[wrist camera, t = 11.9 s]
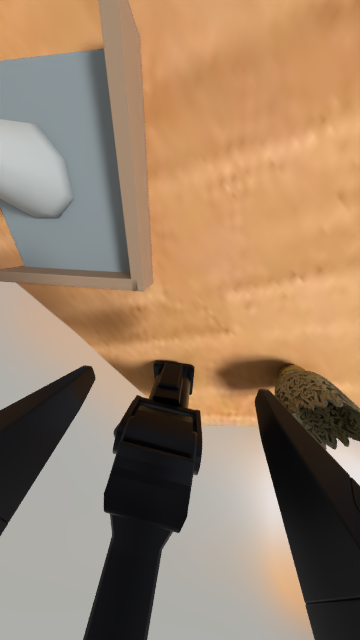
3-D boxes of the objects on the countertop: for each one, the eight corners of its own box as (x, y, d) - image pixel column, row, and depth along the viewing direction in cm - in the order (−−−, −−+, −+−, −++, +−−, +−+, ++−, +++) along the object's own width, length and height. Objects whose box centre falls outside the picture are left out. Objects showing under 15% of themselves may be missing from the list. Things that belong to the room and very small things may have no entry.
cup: (255, 360, 23) (278, 415, 16) (314, 344, 20) (372, 401, 13) (269, 393, 25) (294, 453, 18) (322, 383, 23) (375, 447, 16)
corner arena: (153, 283, 19) (143, 291, 16) (27, 275, 22) (-2, 281, 18) (139, 36, 11) (115, -40, 8) (-62, 61, 13) (-143, 7, 10)
